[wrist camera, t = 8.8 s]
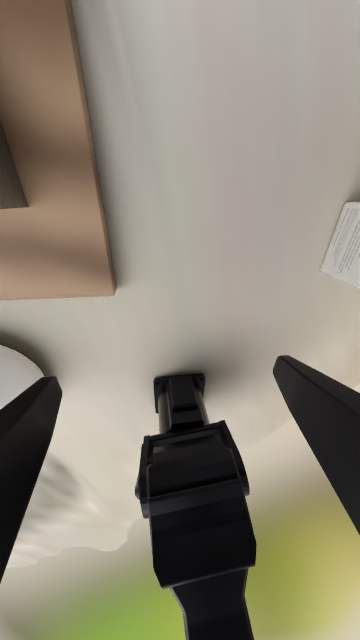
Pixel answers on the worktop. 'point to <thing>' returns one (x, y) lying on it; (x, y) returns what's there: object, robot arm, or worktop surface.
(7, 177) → the steel link
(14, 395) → the flower in vase
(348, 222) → the skincare box
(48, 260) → the keeper board
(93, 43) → the worktop surface
